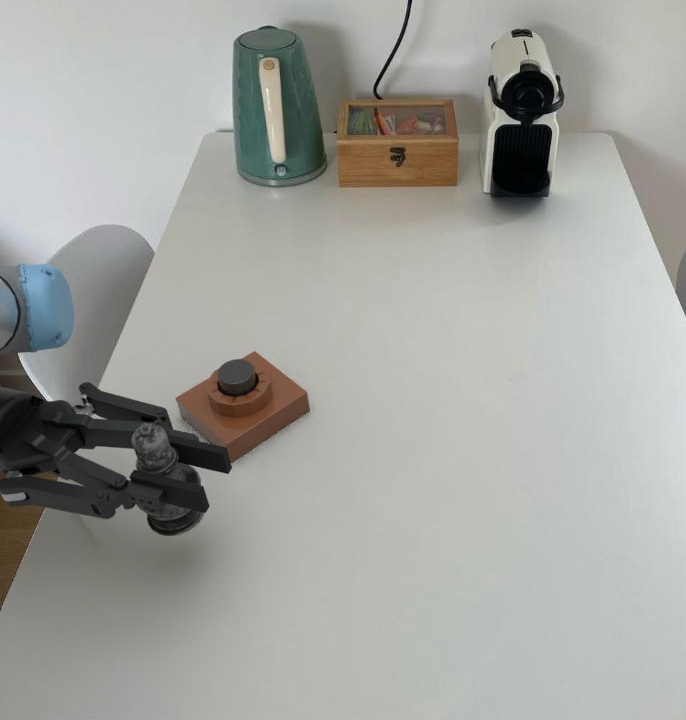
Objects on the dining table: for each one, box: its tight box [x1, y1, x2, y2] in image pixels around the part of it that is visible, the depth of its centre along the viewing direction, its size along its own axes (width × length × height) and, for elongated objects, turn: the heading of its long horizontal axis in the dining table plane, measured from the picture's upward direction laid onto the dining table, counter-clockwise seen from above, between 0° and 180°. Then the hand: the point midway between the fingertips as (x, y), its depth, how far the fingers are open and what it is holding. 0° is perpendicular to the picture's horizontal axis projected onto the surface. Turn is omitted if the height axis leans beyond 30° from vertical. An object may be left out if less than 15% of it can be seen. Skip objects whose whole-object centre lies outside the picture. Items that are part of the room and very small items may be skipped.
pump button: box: [217, 358, 257, 397], centre depth 89 cm, size 4×4×2 cm
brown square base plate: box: [175, 350, 311, 464], centre depth 91 cm, size 11×10×5 cm
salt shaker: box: [132, 423, 205, 537], centre depth 70 cm, size 6×6×12 cm
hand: (215, 479), depth 69 cm, fingers closed on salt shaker, 4 cm apart
